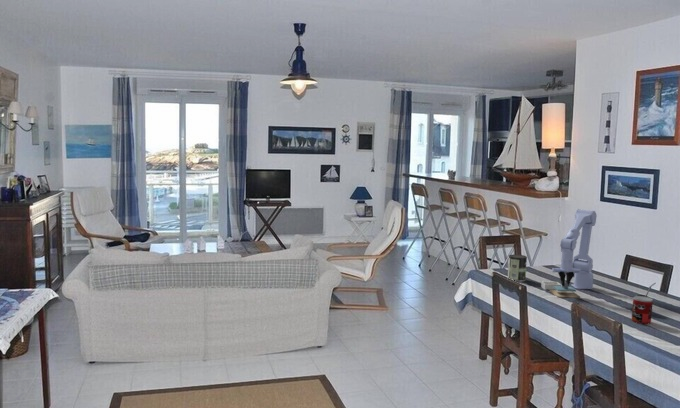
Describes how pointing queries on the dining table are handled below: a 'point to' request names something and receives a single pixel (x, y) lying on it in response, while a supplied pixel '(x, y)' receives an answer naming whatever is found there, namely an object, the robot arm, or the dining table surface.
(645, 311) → the canned food
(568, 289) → the lid
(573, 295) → the mat
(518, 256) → the coffee can
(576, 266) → the robot arm
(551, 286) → the box
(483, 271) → the dining table surface
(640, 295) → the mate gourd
